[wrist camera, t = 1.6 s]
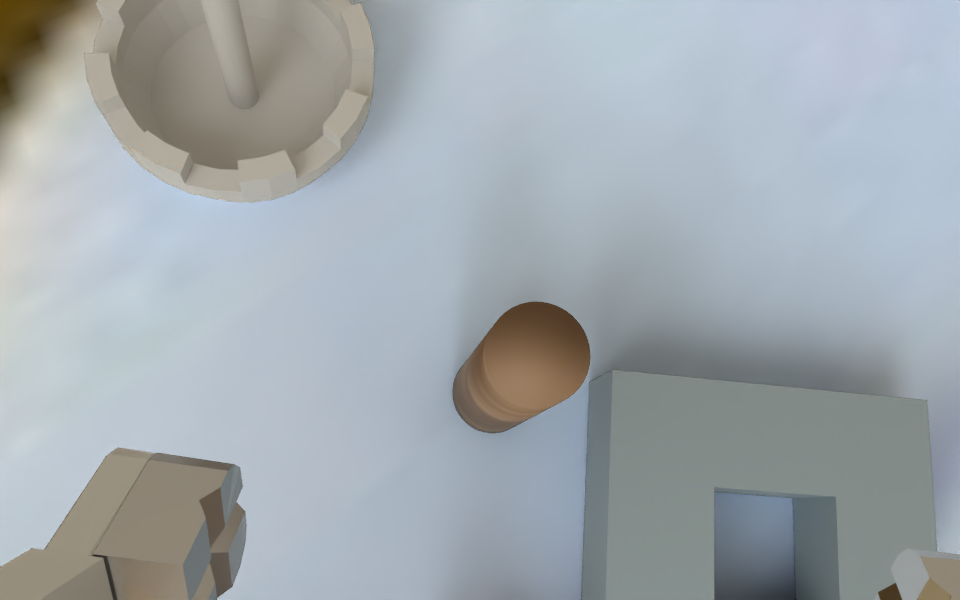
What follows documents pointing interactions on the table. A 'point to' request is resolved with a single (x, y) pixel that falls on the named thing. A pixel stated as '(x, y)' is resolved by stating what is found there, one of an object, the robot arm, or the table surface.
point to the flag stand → (233, 89)
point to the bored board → (749, 482)
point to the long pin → (522, 367)
